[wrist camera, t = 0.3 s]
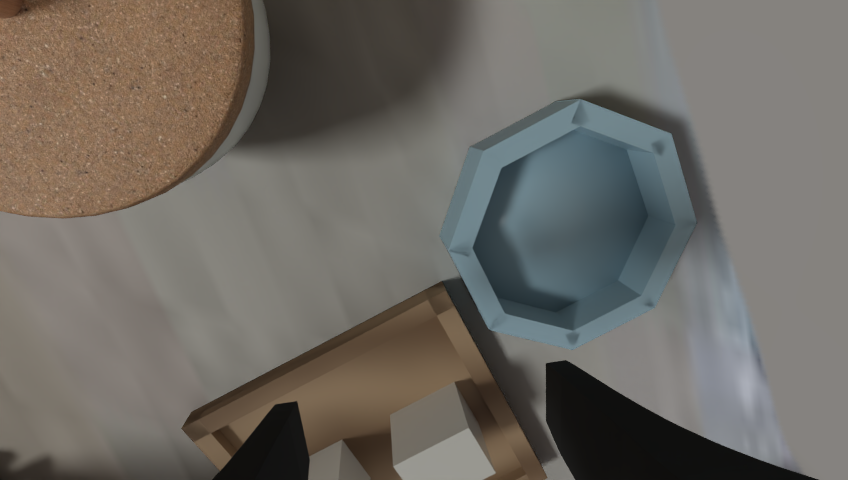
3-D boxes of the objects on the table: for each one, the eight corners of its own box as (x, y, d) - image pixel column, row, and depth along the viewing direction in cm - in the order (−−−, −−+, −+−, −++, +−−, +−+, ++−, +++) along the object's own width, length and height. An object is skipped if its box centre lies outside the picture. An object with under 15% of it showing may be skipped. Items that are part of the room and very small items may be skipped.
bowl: (677, 261, 23) (713, 278, 20) (500, 352, 23) (515, 379, 21) (616, 68, 19) (651, 61, 17) (409, 178, 20) (414, 187, 17)
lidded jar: (-32, 75, 16) (-520, 23, 7) (93, -181, 15) (-347, -655, 6) (218, 224, 19) (83, 318, 10) (347, 24, 17) (321, -74, 8)
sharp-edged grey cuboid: (478, 422, 23) (495, 473, 20) (416, 454, 24) (423, 509, 20) (454, 381, 22) (468, 427, 19) (389, 414, 23) (393, 466, 19)
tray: (539, 461, 26) (547, 478, 24) (328, 568, 26) (327, 588, 25) (441, 281, 21) (445, 290, 20) (191, 412, 22) (181, 428, 21)
